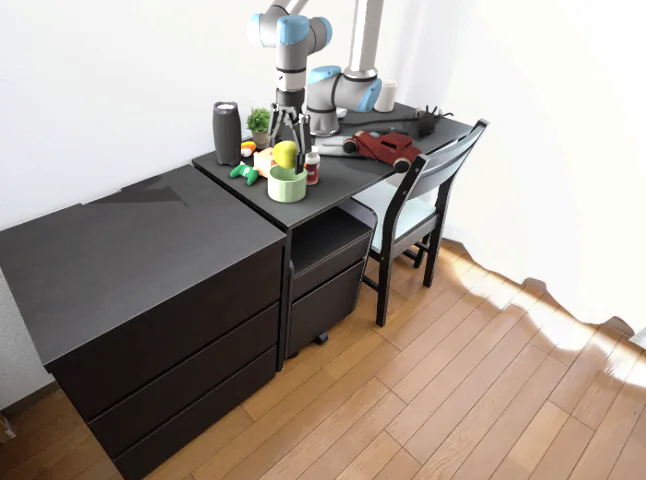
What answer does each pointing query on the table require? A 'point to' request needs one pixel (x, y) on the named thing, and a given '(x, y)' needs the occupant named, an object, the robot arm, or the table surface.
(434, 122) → the toy
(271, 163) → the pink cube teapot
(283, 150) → the apple
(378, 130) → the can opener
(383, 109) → the white cylindrical container
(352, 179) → the table surface
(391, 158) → the toy car
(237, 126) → the portable speaker
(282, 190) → the light green bowl
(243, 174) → the gaming controller
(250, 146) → the candy corn
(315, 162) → the pill bottle
